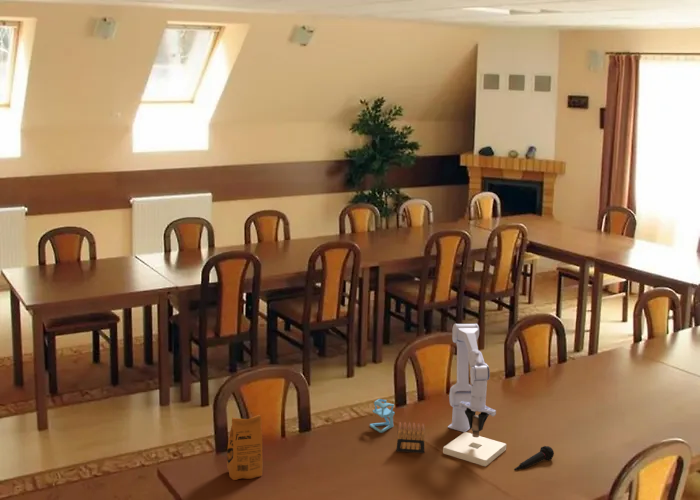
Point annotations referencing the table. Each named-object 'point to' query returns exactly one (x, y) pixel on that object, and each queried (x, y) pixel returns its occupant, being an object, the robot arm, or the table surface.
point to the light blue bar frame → (383, 415)
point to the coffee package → (245, 448)
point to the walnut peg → (475, 426)
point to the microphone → (537, 457)
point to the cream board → (474, 449)
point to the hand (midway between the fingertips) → (476, 428)
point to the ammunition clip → (411, 438)
